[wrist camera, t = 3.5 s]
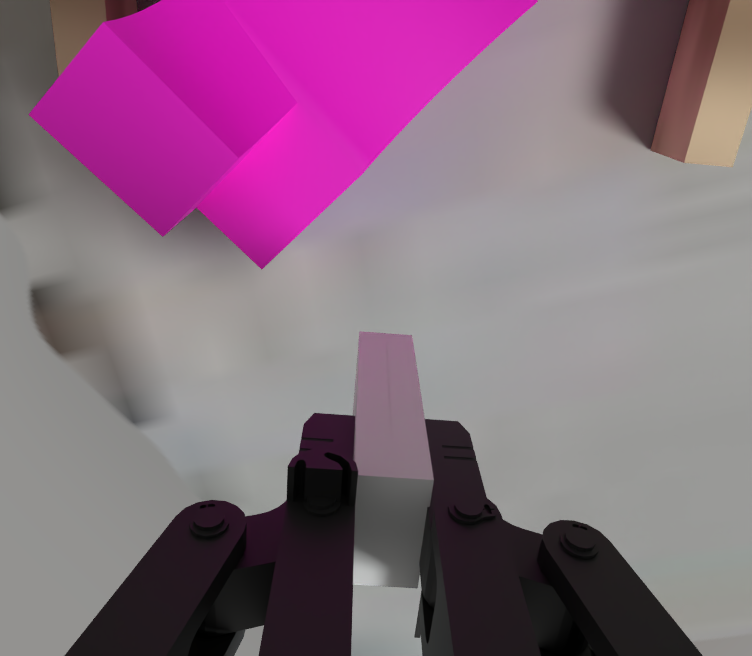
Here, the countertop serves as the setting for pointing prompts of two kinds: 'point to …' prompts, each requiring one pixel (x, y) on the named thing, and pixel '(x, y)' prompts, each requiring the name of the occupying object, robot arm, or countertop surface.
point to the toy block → (257, 102)
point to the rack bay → (681, 101)
